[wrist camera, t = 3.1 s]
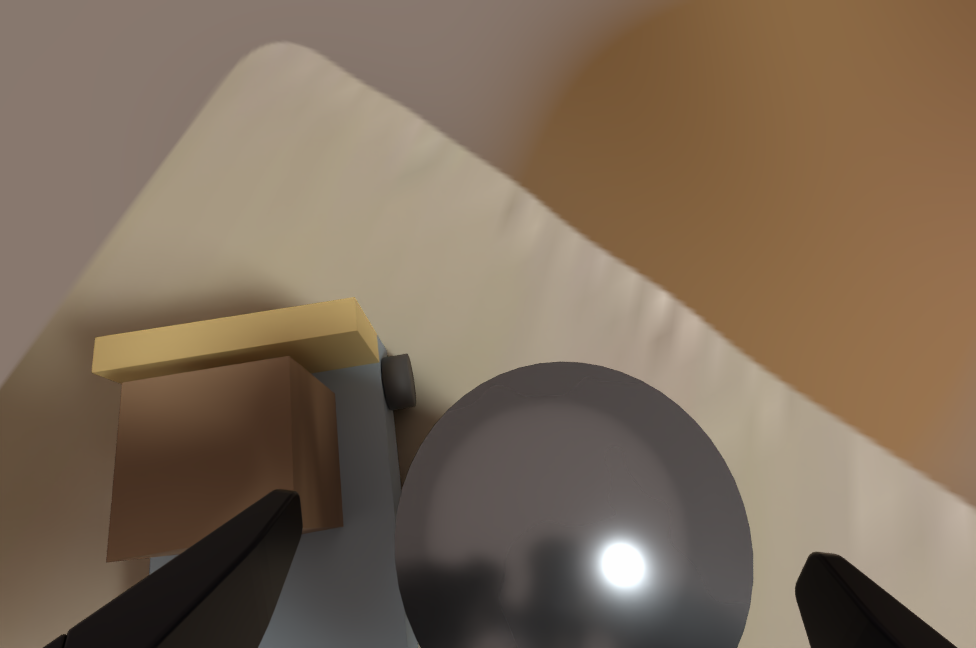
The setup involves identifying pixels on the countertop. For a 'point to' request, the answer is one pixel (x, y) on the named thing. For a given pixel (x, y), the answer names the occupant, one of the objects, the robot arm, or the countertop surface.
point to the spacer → (571, 520)
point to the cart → (362, 457)
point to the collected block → (220, 453)
